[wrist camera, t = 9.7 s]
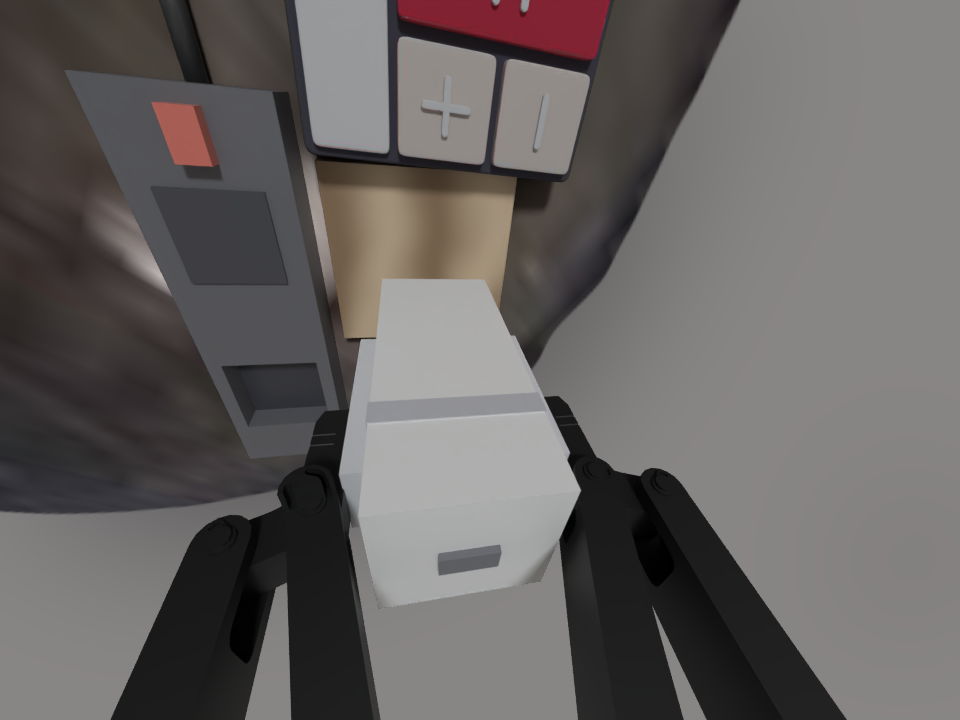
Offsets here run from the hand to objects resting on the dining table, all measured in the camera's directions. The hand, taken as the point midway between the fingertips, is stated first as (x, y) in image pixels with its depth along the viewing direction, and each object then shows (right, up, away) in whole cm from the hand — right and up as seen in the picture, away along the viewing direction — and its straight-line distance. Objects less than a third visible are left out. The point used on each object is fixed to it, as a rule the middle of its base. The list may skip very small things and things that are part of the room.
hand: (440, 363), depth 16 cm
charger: (-1, +2, +3) cm, 4 cm away
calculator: (0, +17, +4) cm, 18 cm away
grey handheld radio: (-13, +6, +8) cm, 17 cm away
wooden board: (-2, +8, +10) cm, 13 cm away
